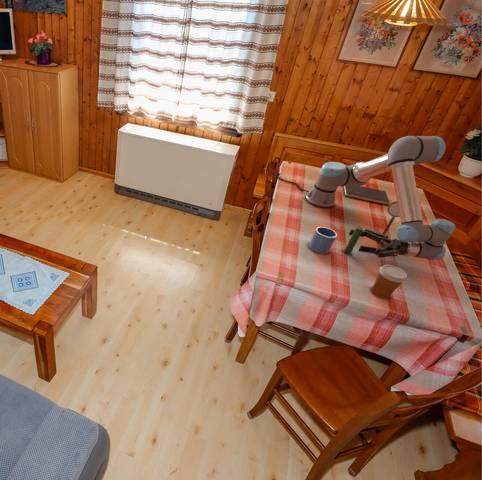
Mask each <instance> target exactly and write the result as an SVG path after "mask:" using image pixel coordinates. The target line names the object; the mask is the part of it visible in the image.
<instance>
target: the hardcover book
mask: <svg viewBox="0 0 482 480" xmlns="http://www.w3.org/2000/svg"><path fill="white" fill-rule="evenodd" d="M342 189H343V193H344V197H347V198H352V199H356V200H357V199H358V200H361V201H366V202H370V203H375V204H380V205H385V206H389V203H390V200H389V197H388V194H387V192H386V190H382V189H377V188H373V187H367V186H364V185H362V186H342Z"/></svg>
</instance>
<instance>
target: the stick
mask: <svg viewBox="0 0 482 480" xmlns="http://www.w3.org/2000/svg"><path fill="white" fill-rule="evenodd" d="M354 230H355V231H354V233H353V235H350V238H349V240H348V242H347V244H346V246H345V248H344V250H343V253H344V254H347V255H351V254H352V252H353V250H354V248H355V247H356V244H357V243H358V241H359V239H360V235H361V234H362V232H363V231H365V229H364V228H363V227H361V226H356V227H355V229H354Z"/></svg>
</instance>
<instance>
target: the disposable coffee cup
mask: <svg viewBox="0 0 482 480" xmlns="http://www.w3.org/2000/svg"><path fill="white" fill-rule="evenodd" d="M378 270H379V271H378V274H377V276H376V278H375V281H374V284H373V286H372V289H371V292H372V294H373V295H375V296H377V297H378V298H380V299H381V298H382V299H389V297H390V296H391V295H392V294H394V292H395V291H396V290H397V289H398V288H399V287H400V286H401V284H403V283H404V282H406V281H407V278H408V275H407V272H405V270H403V269H402V268H400V267H398V266H396V265H393V264H384V265H382V266H380V267H379V269H378Z"/></svg>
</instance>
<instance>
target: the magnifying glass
mask: <svg viewBox="0 0 482 480" xmlns="http://www.w3.org/2000/svg"><path fill="white" fill-rule="evenodd" d="M387 214H388V215H390V216H391V218H390V220H389V222H388V223H387V225H386V227H385V229H384V231H383V232H382V234H383V235H387V232H388V231H389V229H390V227H391V225H392V224H393V222H394V220H395V219H396V218H400V214H399V208H398V203H397V200H396V201H394V202H391V203H389V204H388V206H387Z"/></svg>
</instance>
